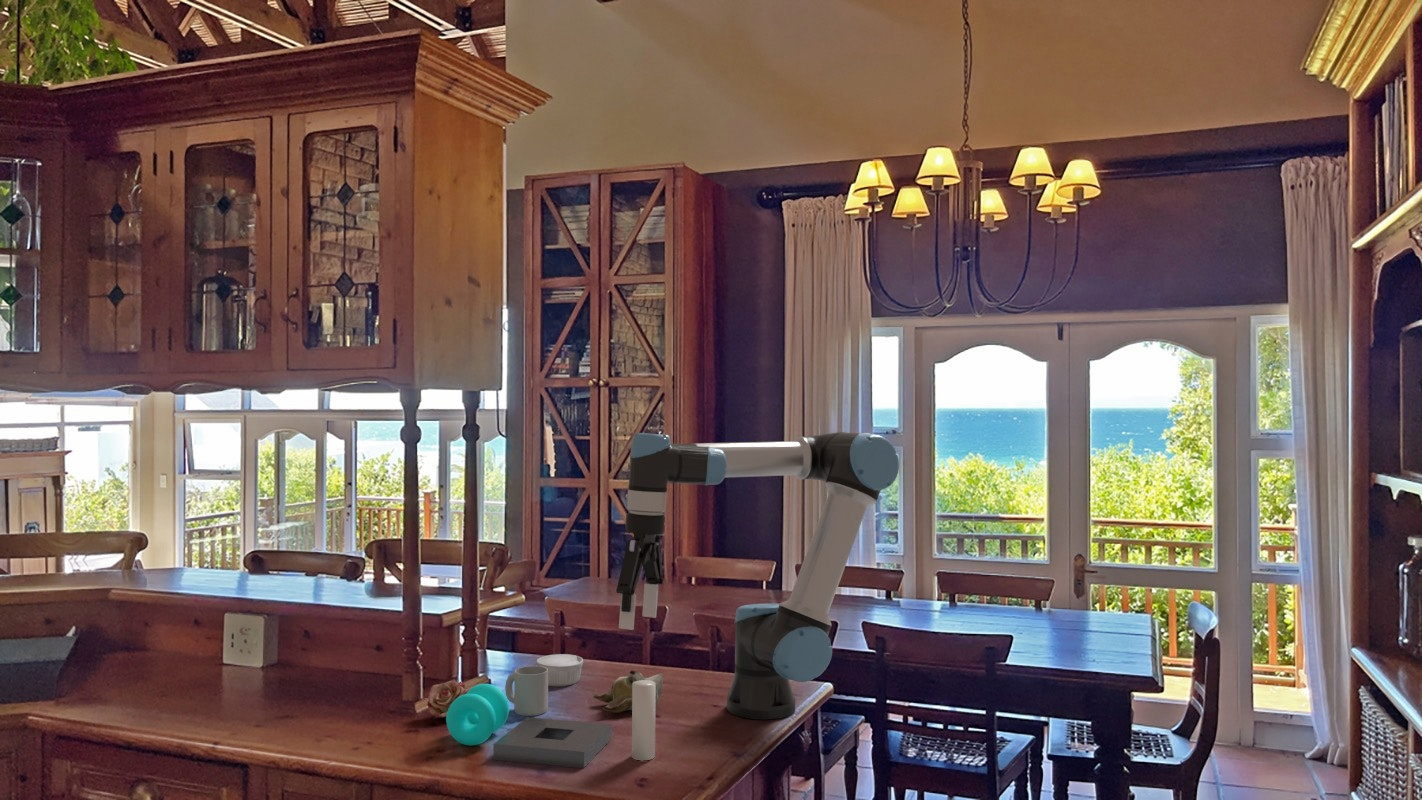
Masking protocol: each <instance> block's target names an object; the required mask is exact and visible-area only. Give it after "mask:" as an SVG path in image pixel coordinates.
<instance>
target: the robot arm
mask: <svg viewBox="0 0 1422 800" xmlns="http://www.w3.org/2000/svg"><path fill="white" fill-rule="evenodd" d="M899 459H900V458H899V456H898V453H897V451H896V448H895V447H894V444H892V442H890V440H889V439H887V437H884V436H882V435H879V434H873V433H871V432H863V433H862V432H861V433H860V432H859V433H858V432H844V431H841V432H839V431H838V432H831V433H825V434H819V435H818V434H817V435H809V436H797V437H795V438H794V439H793V440H792V441H790V440H789V441H755V442H754V441H752V442H751V441H748V442H746V441H744V442H743V441H742V442H741V441H740V442H709V443H708V442H703V443H701V442H700V443H699V442H697V443H672V442H671V437H670V435H668V434H663V433H661V434H659V433H658V434H657V433H645V432H637V433H636V434H634V435H633V437H632V440H631V445H630V454H629V474H628V488H627V489H628V490H627V493H626V494H625V498H626V499H627V504H626V505H627V506H626V509H627V510H628V511H629V512H627V514H626V515H625V527H624V529H625V531H626V532H627V533H628V534H629V533H630V534H632V535H633V536H632V539H627V540H626V541H625V552H624V556H623V560H622V561H623V562H622V565H621V569H620V573H619V578H618V583H617V587H616V590H615V592H616V593H617V594H620V602H619V603H620V606H619V617H618V619H619V620H618V621H619V622H618V629H622V630H630V631H634V629H635V619H636V618H635V617H636V615H635V614H636V605H637V604H636V601H637V593H635V591H636V588H637V585H638V583H639V578H640V577H641V572H642V569H643V570H644V575H645V580H646V582H645V583H644V587H643V602H642V617H644V618H645V617H646V618H654V619H656V618H657V612H658V611H657V610H658V599H659V597H658V595H659V585H663V584H664V579H663V577H664V575H663V564H662V563H663V562H662V552H661V535H663V534H664V532H665V521H666V516H665V515H664V514H663V513H665V512H666V510H667V508H666V507H667V494H668V484H686V485H704V486H705V487H706V486H710V485H714V486H716V485H720V484H721V483H722V482H723V481H724V480H725V478H749V477H752V478H754V477H775V476H776V477H777V476H782V477H783V476H794V477H795V478H796V479H797V480H813V481H821V482H825V483H824V485H825V487H826V489H827V492H828V493H827V494H828V495H827V497H826V500H825V503H824V505H823V508H822V511H821V514H820V515H819V519H818V521H817V524H816V527H815V530H814V532H813V534H812V537H811V540H810V543H809V545H808V548H807V551H806V554H805V556H804V559H803V562H802V564H801V567H800V570H799V572H798V574H797V577H796V580H795V583H794V585H793V589H792V591H791V594H790V596H789V598H788V599H787V600H785V601H782V602H780V603H777V602H776V603H773V602H769V603H752V604H745V605H741V606H739V607H738V608H737V609H736V610H735V618H734V676H733V678H732V681H731V685H730V688H729V691H728V694H727V698H726V710H727V711H728V712H729V713H730V714H732V715H734V716H737V717H741V718H744V717H745V718H744V719H752V720H775V719H777V720H778V719H783V718H785V717H789V716H791V715H793V714H794V713H795V712H796V697H795V694H794V691H793V688H792V685H791V682H790V681H793V682H796V683H806V682H811V681H812V680H814V679H816V678H819V676H821V675H822V674H823V673H824V672H825V671H826V670H827V668H828V666H829V665H830V662H831V660H832V656H833V646H832V644H831V642H832V641H831V639H830V637H829V635H830V631H831V629H832V622H831V620H830V617H829V612H830V609H831V606H832V604H833V601H834V598H835V595H836V593H837V590H838V587H839V585H840V582H841V579H842V577H843V573H844V572H845V568H846V565H847V562H848V560H849V557H850V555H851V552H852V549H853V546H854V544H855V541H856V539H857V535H858V532H859V530H860V527H861V524H862V521H863V519H864V516H865V513H866V510H867V508H869V507H871V506H873V505H876V503H877V502H878V499H879V496H880V493H881V491H883V490H885V489H887V488H888V487H890V486H892V484H893V483H894V482H895V481H896V480H897V479H896V478H897V477H898V473H899V470H900V469H899V468H900V460H899Z"/></svg>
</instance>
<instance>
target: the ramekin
mask: <svg viewBox="0 0 1422 800" xmlns="http://www.w3.org/2000/svg"><path fill="white" fill-rule="evenodd" d="M535 662H536V666H542V667H546V668H548V687H567V686H571V685H575V684H577V683H578V682H579V680H580V678H581V675H582V667H583V664H584V659H583V657H581V656H579V655H574V654H568V653H563V654H561V653H556V654H549V655H548V654H547V655H544V656H542V657H541V656H540V657H539V658H537V660H536V661H535Z"/></svg>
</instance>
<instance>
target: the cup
mask: <svg viewBox="0 0 1422 800" xmlns="http://www.w3.org/2000/svg"><path fill="white" fill-rule="evenodd" d="M513 685H514V689H513ZM504 689H505V691H504V692H505V696H506V698H507V700H508V702H509V703H511V704H514V705H513V706H514V707H513V709H514V712H515V714H516V715H518V716H523V717H536V716H540V715H543V714H546V713H547V711H548V709H549V686H548V668H546V667H542V666H537V665H527V666H521V667H517V668H516V669H515V670H514V672H513V673H510V674H509V675H508V677H507V679H506V681H505V687H504Z"/></svg>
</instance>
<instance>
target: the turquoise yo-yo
mask: <svg viewBox="0 0 1422 800" xmlns="http://www.w3.org/2000/svg"><path fill="white" fill-rule="evenodd" d="M509 713H510V705H509V700H508V698H507V696H506V693H504V691H502V689H500V688H499V687H497V686H496V685H493V684H490V683H480V684H476V685H474V686H472V687H471V688H470V689H469V690H468V691H466V693H464V695H462V696H460V697H458V698H457V699H455V700H454V701H453V702H452V703H451V705H450V707H449V709H448V711H447V716H446V717H445V720H446V721H445V722H446V727H447V729H448V732H449V734H450V735H451V736H452V738H453V739H454V740H455V741H456V742H459V743H460V744H462V745H464V746H478V745H481V744H482V743H484V742H486V741H487V740H488V739H489V738H490V737H491V736H492V734H493V733H495V732H497V731H499V730H500V729H501V728H503V726H504V725H505V724H506V722H507V720H508V717H509Z"/></svg>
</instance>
